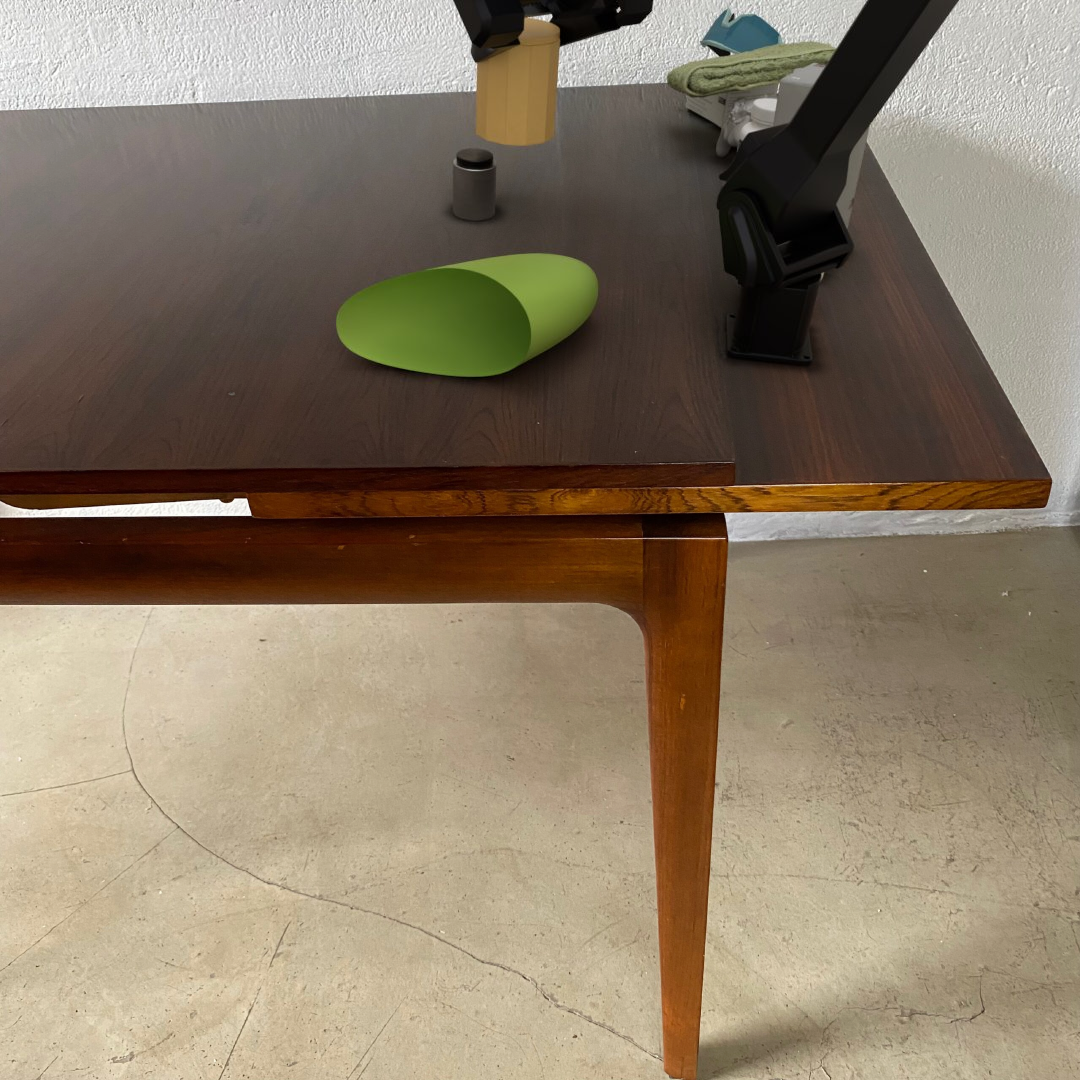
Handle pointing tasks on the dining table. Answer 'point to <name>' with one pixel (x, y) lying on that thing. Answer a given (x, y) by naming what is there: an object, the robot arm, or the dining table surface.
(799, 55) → the washcloth
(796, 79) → the cosmetic box
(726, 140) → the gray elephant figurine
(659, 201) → the dining table surface
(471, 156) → the flask
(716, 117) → the small box
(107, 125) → the dining table surface
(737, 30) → the teal curved piece
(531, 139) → the cup-cap
